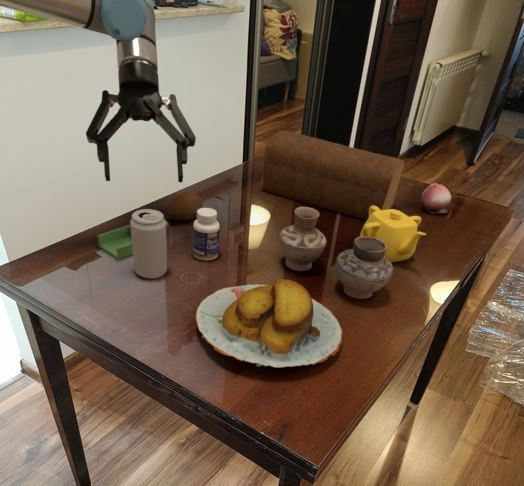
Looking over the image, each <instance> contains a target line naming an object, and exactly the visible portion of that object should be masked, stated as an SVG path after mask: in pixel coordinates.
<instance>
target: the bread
mask: <svg viewBox="0 0 524 486" xmlns="http://www.w3.org/2000/svg"><path fill="white" fill-rule="evenodd" d="M263 159H264V160H263V170H262V178H261V190H262V191H265V192H268V193H271V194H275V195H278V196H281V197H284V198H289V199H293V200H296V201H298V202H301V203H305V204H307V205H313V206H316V207H319V208H321V209H322V208H323V209H324V210H329V211H332V212H335V213H339V214H343V215H346V216H350V217H354V218H357V219H360V220H364V221H367V220H368V218H369V208H370V206H376V207H378V208H379V209H380V210H387V209H392V207H393V206H394V201H395V198H396V195H397V191H398V187H399V184H400V180H401V177H402V176H401V175H402V173H403V169H404V166H405V160H404V159H401V158H397V157H393V156H389V155H385V154H381V153H377V152H376V153H375V152H373V151H368V150H364V149H359V148H355V147H351V146H347V145H344V144H341V143H336V142H332V141H328V140H325V139H321V138H317V137H313V136H309V135H304V134H302V133H297V132H293V131H289V130H285V129H283V130H280V131H278V132H276V133H275V134H273V135H271V136H269V138H268V140H267V141H266V143H265V147H264V158H263Z"/></svg>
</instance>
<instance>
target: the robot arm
mask: <svg viewBox="0 0 524 486" xmlns="http://www.w3.org/2000/svg"><path fill="white" fill-rule="evenodd" d="M153 2H154V1H153V0H0V7H1V8H6V9H10V10H13V11H17V12H21V13H25V14H28V15H32V16H35V17H40V18H43V19H47V20H50V21H54V22H59V23H62V24H67V25H70V26H73V27H78V28H81V29H84V30H89V31H92V32H95V33H99V34H103V35H107V36H110V37H111V38H112V39H114V40H115V43H116V60H117V69H118V71H117V76H118V77H117V79H118V92H117V94H113V93H110V92H109V91H108V90H107V89H103V91H102V92H101V101H100V103H99V106H98V108H97V110H96V112H95V113H94V116H93V118H92V120H91V122H90V124H89V126H88V128H87V130H86V132H85V136H86V140H87V142H88V143H89V144H94V145H96V154H97V155H96V156H97V160H98V162H99V163H103V167H104V168H103V169H104V170H103V171H104V179H105V181H106V182H111V171H110V151H109V149H110V148H109V145H108V142H109V140H111V138H112V137H113V136H114V135H115V134H116V133H117V131H118V130H119V129H120V128H121V127H122V126H123V125H124V124H126V123H127V122H128V121H129V120H132V121H134V122H138V121H143V122H150V121H151V120H153V122H154V123H155V124H156V125H158V126H159V127H160V128H161V129H162V130H163V131H164V132H165V133H166V135H168V136H169V138H170V139H171V140H172V141H173V142H174V144H176V149H175V150H176V151H175V153H176V166H177V167H176V168H177V180H178V183H183V180H184V168H183V165H187V164H188V159H189V158H188V148H189V147H190V148H193V147H195V146H196V139H197V136H196V135H195V133H194V132H193V130H192V128H191V126H190V125H189V123H188V121H187V119H186V118H185V116H184V114H183V112H182V111H181V109H180V107H179V106H178V101H177V96H176V95H175V94H174V93H171V94H169V96H168V97H167V96H166V97H162V95H161V94H160V83H159V73H158V72H159V71H158V70H159V66H158V52H157V38H156V37H157V34H156V14H155V8H154V3H153ZM115 104H118V106H119V108H118V110H117V112H116V113H115V114H114V116H113V117H112V118H111V119H109V121H108V122H107V124H105V126H104V127H103V128H102V126H103V124H104V122H105V120H106V118H107V116H108V114H109V111H110V108H113V107H114V105H115ZM163 106H164V107H165V108H166V109H167V110H168V111H170V114H171V116H172V118H173V119H174V121H175V123H176V125H177V127H178V128H179V130H180V131H179V130H178V129H177V128H176V126H175V125H174V124H173V123H172V122H171V121H170V120H169V119H168V118H167V116H166V115H165V114H164V112H163V111H162V110H161V108H162V107H163ZM101 128H102V129H101Z"/></svg>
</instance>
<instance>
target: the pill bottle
mask: <svg viewBox="0 0 524 486" xmlns="http://www.w3.org/2000/svg"><path fill="white" fill-rule="evenodd" d="M217 219H218V212H217V210H216V209H214V208H212V207H203V208H200V209H198V210H197V217H196V218H195V219H194V222H193V224H192V225H193V226H192V255H193V257H194V258H196V259H197V260H200V261H206V262H207V261H213V260H215V259H216V258H218V256H219V247H220V233H221V231H220V229H221V228H220V227H221V225H220V223H219V221H218V220H217Z"/></svg>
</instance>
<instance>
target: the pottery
mask: <svg viewBox="0 0 524 486" xmlns="http://www.w3.org/2000/svg"><path fill="white" fill-rule="evenodd" d="M319 217H320V212H319V211H318V210H317V209H315V208H313V207H307V206H298V207H296V208H295V209H294V224H292V225H289V226H287V227H284V228H283V229H282V230H281V231H280V232H279V233H278V238H279V239H278V240H279V245H280V249H281V252H282V254H283V256H284V258H285V264H284V265H285V266H286V267H287V268H288V269H290V270H292V271H296V272H306V271H309V270H311V268H312V267H313V262H314V261H316V260H317V259H318V258H319V257H320V256H321V254H322V253H323V251H324V250H325V248H326V245H327V241H328V240H327V238H326V236H325V235H324V233H322V232H321V231H320V230H319V229H318V228H317V227H316V224H317V222H318V219H319ZM353 240H354V241H353V246H352V248H350V249H346V250H344V251H341V252H340V253H338V255H337V256H336V259H335V273H336V275H337V277H338V280H339V282H340V283H341V284H342V286H343V292H344V294H345V295H347V296H348V297H350V298H352V299H357V300H364V299H365V300H366V299H368V298H370V297H372V296H373V293H375V292H377V291H379V290H381V289H382V288H383V287H385V286H386V285H387V284H388V283H389V281H390V280H391V278H392V276H393V275H394V271H395V270H394V269H395V268H394V265H393V264H392V262H390V261H389V260H388V259H387V258H386V257H384V255H385V252H386V249H387V246H386V244H385V243H384V242H383V241H381V240H379V239H376V238H373V237H360V236H358V237H356V238H354V239H353Z"/></svg>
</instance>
